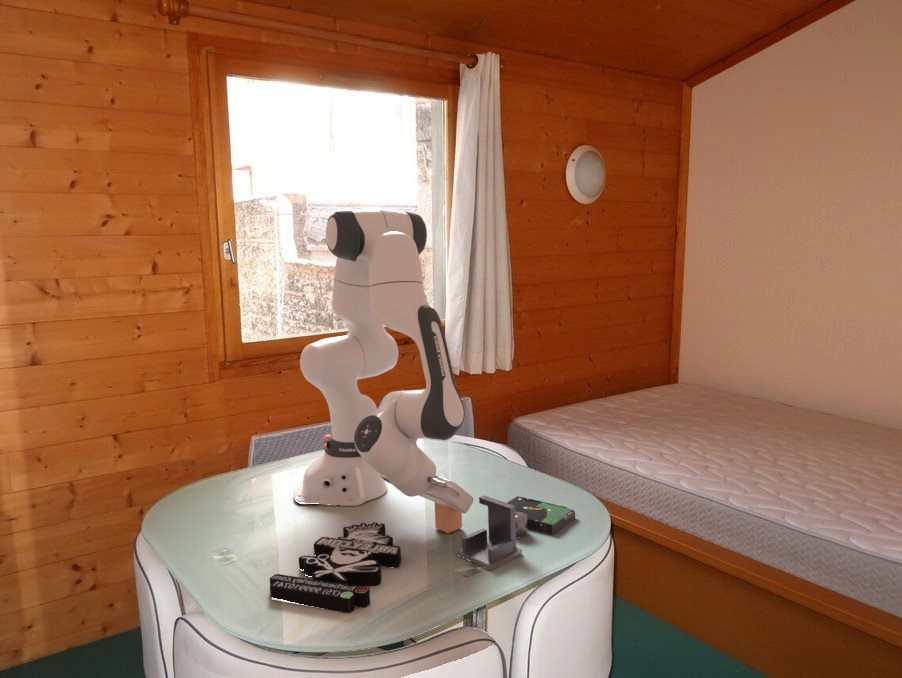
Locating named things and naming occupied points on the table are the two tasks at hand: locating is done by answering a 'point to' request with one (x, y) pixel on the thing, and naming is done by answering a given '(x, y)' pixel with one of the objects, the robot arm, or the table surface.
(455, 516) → the orange tall block
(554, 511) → the disk drive
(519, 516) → the link stub
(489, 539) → the keeper
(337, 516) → the table surface
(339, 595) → the sign
